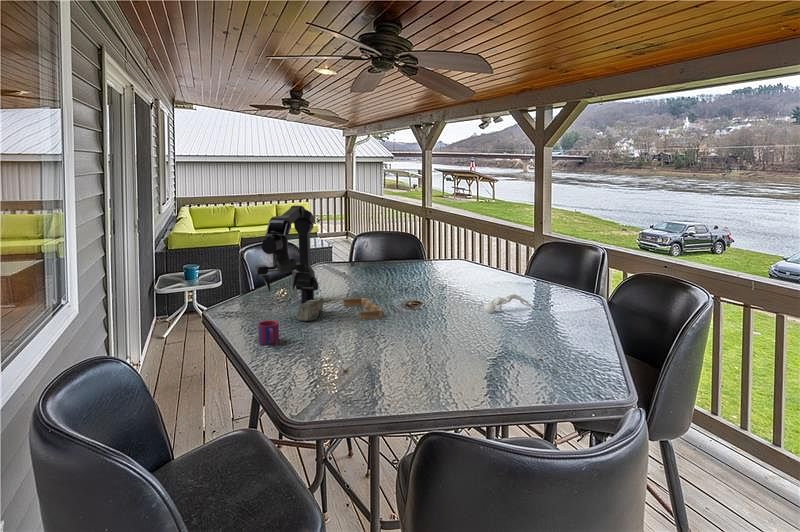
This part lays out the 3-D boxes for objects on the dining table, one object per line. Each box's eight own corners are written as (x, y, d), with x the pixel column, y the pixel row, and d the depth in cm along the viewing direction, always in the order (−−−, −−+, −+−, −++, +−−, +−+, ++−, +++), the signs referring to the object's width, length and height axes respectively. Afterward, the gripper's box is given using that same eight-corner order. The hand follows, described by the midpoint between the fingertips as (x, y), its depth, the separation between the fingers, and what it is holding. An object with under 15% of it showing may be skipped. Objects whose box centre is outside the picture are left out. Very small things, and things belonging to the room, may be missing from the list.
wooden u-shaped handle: (342, 305, 224) (342, 299, 223) (363, 304, 228) (363, 297, 227) (360, 320, 203) (360, 312, 202) (382, 317, 207) (382, 310, 206)
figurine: (542, 301, 222) (496, 291, 211) (536, 323, 223) (490, 315, 211) (528, 296, 230) (483, 286, 219) (522, 318, 231) (477, 309, 220)
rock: (300, 300, 214) (323, 294, 213) (305, 316, 215) (328, 310, 214) (291, 310, 197) (316, 303, 197) (295, 326, 198) (320, 320, 197)
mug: (278, 338, 180) (277, 319, 179) (280, 347, 170) (280, 328, 169) (258, 340, 178) (257, 321, 176) (259, 349, 168) (259, 329, 167)
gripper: (259, 254, 185) (261, 297, 187) (310, 252, 193) (310, 292, 196) (253, 250, 195) (255, 290, 197) (302, 248, 203) (302, 286, 205)
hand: (281, 290), depth 199 cm, fingers open, 9 cm apart
